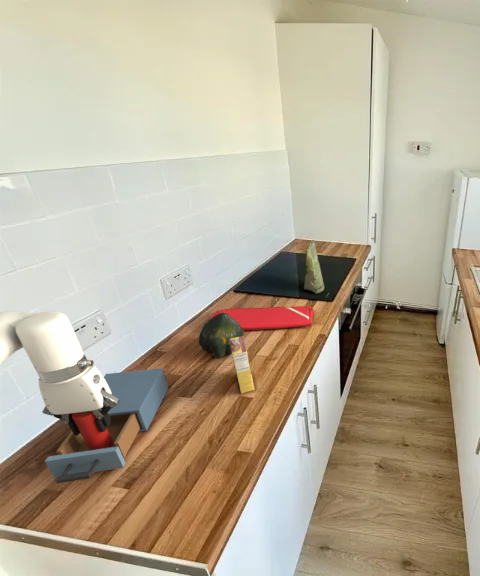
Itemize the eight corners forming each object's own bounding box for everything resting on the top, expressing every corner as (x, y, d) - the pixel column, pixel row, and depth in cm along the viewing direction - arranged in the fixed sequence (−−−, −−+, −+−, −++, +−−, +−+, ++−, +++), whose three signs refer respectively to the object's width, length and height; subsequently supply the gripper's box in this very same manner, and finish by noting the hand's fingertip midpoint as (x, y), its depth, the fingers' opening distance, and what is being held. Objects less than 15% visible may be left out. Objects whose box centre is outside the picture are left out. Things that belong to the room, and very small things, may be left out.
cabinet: (146, 430, 86) (138, 410, 83) (82, 439, 83) (71, 418, 80) (168, 387, 101) (162, 368, 98) (114, 393, 97) (106, 373, 94)
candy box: (236, 376, 107) (229, 338, 100) (250, 373, 108) (244, 334, 102) (239, 394, 100) (232, 354, 93) (254, 390, 101) (248, 350, 95)
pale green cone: (310, 296, 160) (307, 248, 149) (298, 288, 167) (294, 241, 156) (329, 290, 167) (328, 244, 156) (316, 282, 174) (314, 237, 163)
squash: (193, 356, 106) (220, 319, 107) (188, 335, 117) (213, 301, 118) (232, 369, 115) (257, 334, 116) (224, 348, 127) (247, 317, 127)
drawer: (114, 484, 72) (106, 467, 70) (42, 497, 69) (30, 479, 67) (149, 416, 90) (144, 400, 87) (93, 423, 87) (85, 407, 84)
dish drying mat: (217, 313, 141) (216, 306, 140) (313, 310, 147) (313, 303, 146) (205, 333, 127) (203, 325, 126) (311, 329, 133) (311, 322, 132)
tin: (86, 456, 77) (67, 420, 72) (96, 441, 81) (79, 405, 75) (107, 453, 78) (90, 417, 73) (116, 438, 82) (101, 402, 76)
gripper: (118, 352, 74) (140, 411, 82) (28, 360, 70) (60, 421, 78) (100, 374, 67) (127, 436, 75) (0, 385, 63) (38, 448, 71)
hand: (92, 428), depth 76 cm, fingers closed on tin, 4 cm apart
